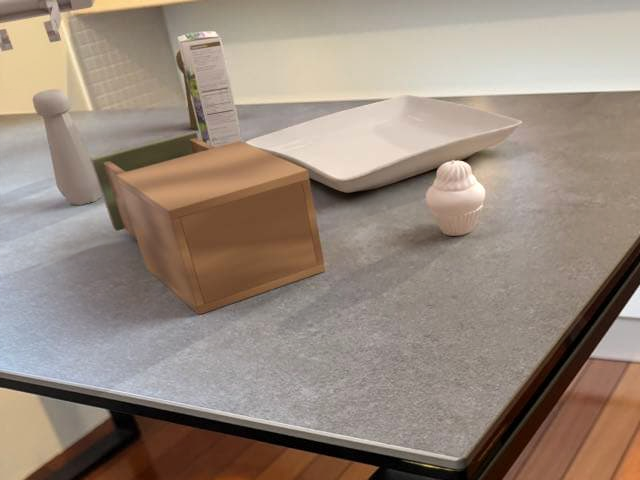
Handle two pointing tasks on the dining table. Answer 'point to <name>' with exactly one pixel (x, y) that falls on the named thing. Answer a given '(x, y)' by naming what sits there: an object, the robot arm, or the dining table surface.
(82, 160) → the salt shaker
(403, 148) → the square plate
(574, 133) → the dining table surface
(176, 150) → the drawer
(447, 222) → the muffin
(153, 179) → the cabinet
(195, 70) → the syrup box
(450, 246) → the dining table surface
